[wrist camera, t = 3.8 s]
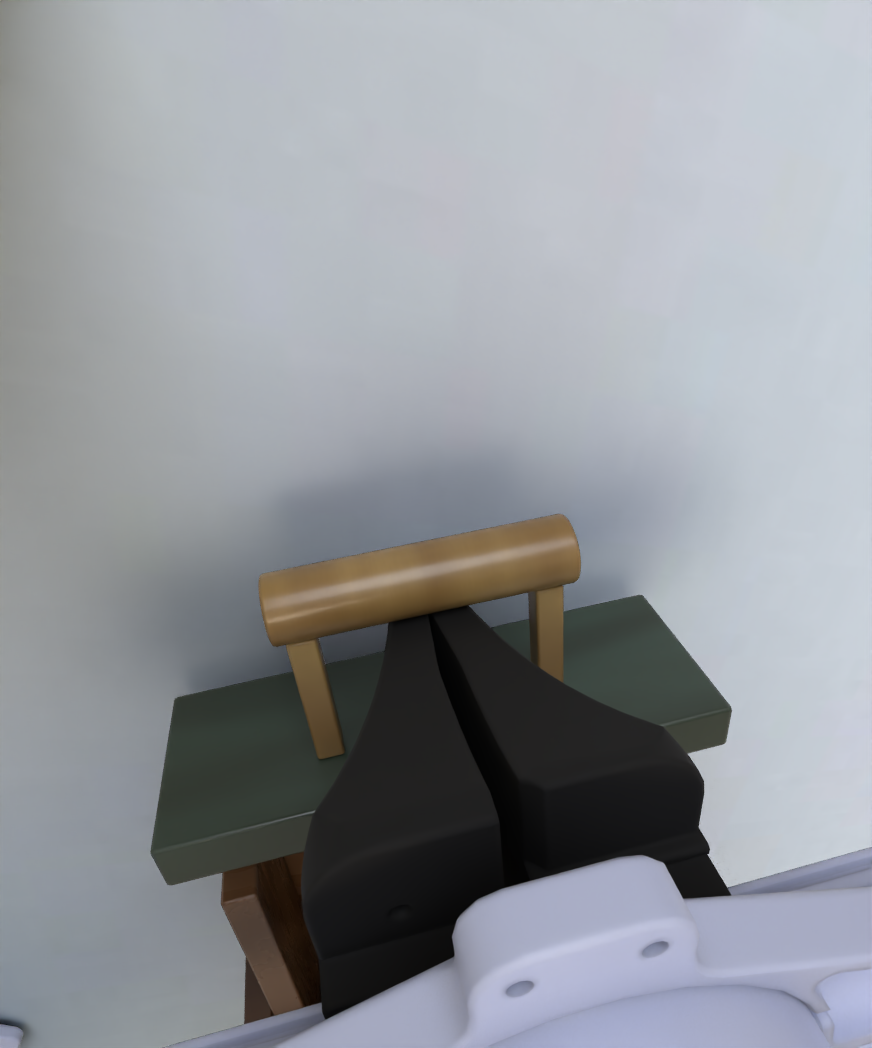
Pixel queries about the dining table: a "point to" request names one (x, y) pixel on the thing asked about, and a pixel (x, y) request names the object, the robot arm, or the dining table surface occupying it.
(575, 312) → the dining table surface
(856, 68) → the dining table surface
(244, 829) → the drawer
